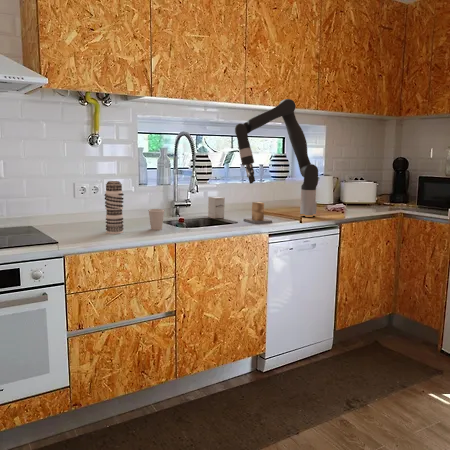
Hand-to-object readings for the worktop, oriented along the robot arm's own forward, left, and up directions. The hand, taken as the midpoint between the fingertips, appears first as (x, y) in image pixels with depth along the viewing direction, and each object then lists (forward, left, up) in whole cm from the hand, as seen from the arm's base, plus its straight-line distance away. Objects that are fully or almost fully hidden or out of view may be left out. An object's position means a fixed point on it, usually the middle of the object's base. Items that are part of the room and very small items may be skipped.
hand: (252, 182), depth 283 cm
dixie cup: (+67, +16, -22) cm, 73 cm away
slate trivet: (+4, +14, -22) cm, 26 cm away
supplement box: (+19, -10, -22) cm, 31 cm away
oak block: (+4, +14, -21) cm, 25 cm away
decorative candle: (+89, +17, -22) cm, 94 cm away
